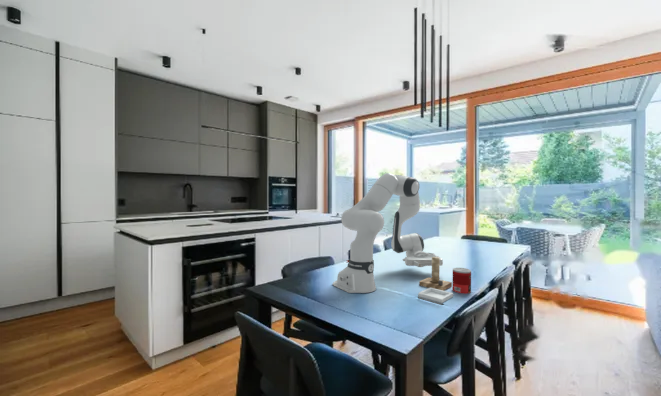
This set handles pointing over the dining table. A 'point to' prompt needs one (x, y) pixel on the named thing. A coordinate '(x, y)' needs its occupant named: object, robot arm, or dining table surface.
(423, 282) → the socket block
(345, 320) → the dining table surface
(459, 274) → the canned food
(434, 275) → the dowel
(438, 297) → the tray
